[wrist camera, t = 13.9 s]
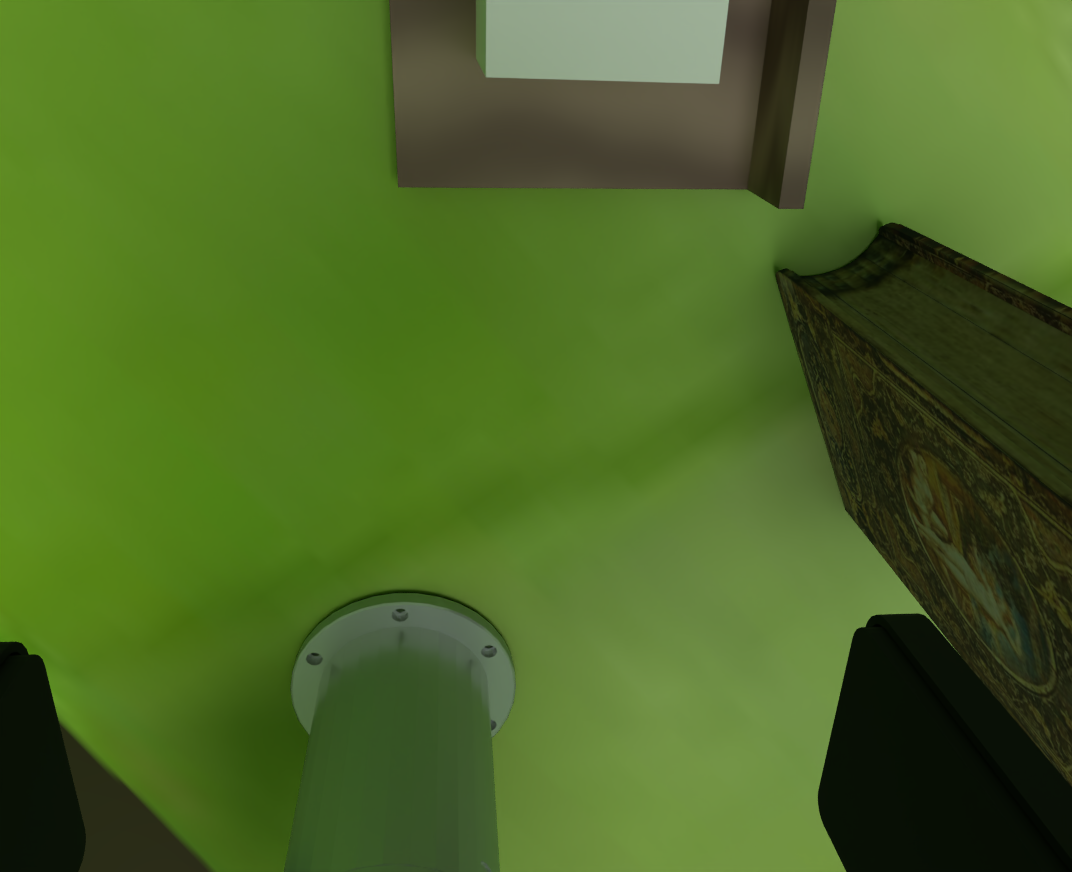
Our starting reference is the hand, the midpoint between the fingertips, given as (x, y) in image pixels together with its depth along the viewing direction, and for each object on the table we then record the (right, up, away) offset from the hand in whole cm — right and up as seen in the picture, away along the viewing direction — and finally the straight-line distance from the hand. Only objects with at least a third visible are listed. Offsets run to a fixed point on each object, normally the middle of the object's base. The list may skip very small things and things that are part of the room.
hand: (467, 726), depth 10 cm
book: (+18, +6, +34) cm, 39 cm away
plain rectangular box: (+2, +20, +23) cm, 31 cm away
